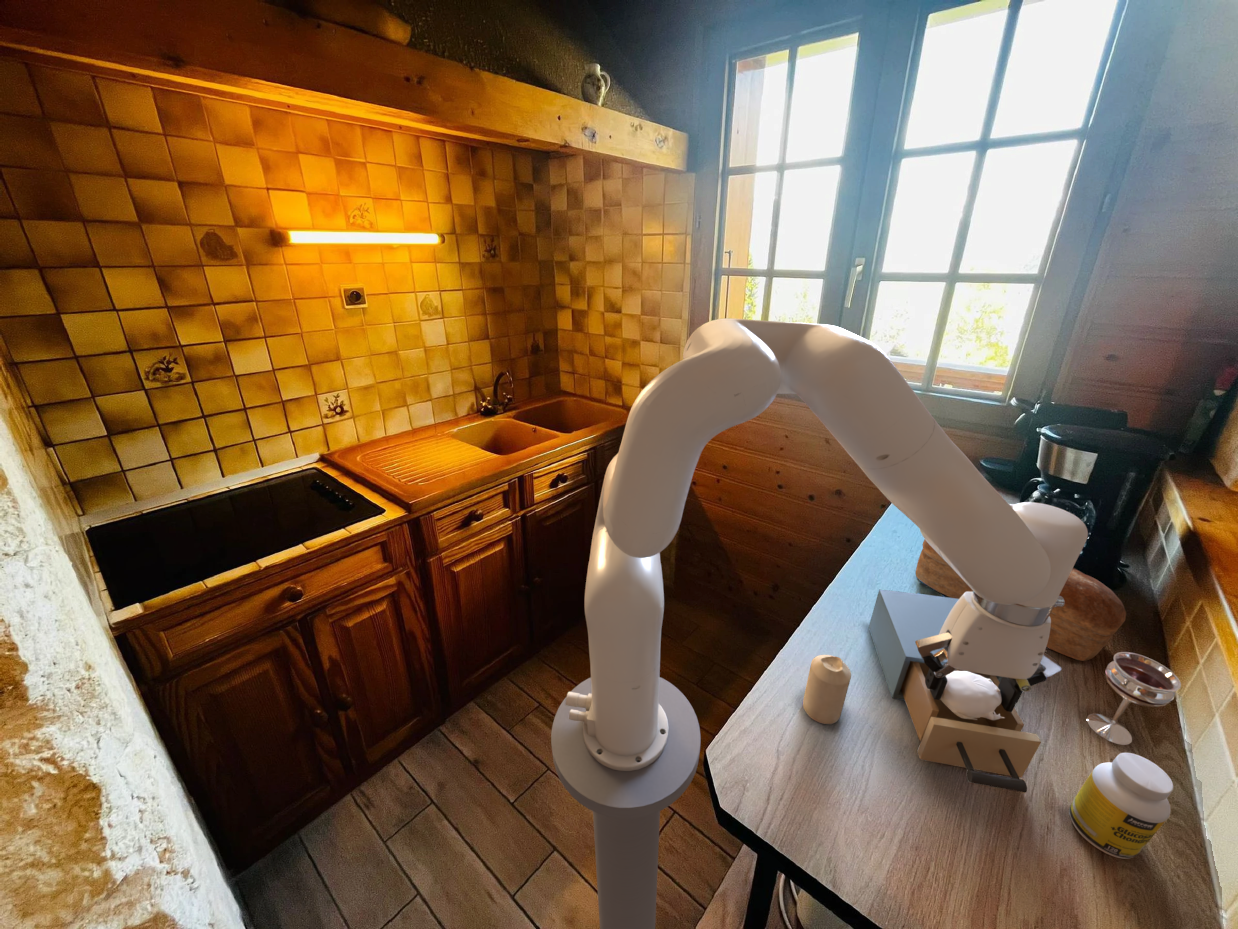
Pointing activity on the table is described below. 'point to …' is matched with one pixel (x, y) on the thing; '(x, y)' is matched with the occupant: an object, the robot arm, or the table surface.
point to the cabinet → (905, 631)
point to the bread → (1073, 626)
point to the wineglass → (1134, 691)
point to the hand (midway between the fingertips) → (967, 696)
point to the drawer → (969, 736)
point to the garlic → (971, 696)
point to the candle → (826, 688)
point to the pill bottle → (1122, 805)
